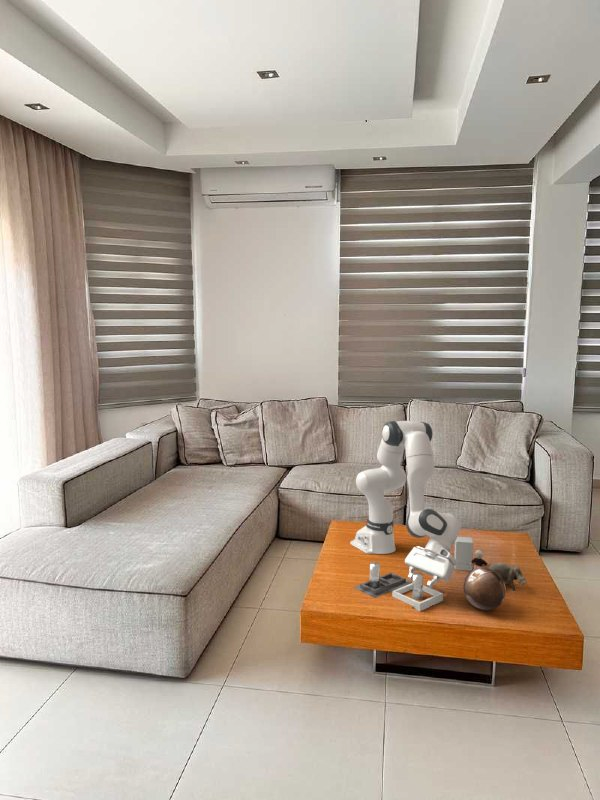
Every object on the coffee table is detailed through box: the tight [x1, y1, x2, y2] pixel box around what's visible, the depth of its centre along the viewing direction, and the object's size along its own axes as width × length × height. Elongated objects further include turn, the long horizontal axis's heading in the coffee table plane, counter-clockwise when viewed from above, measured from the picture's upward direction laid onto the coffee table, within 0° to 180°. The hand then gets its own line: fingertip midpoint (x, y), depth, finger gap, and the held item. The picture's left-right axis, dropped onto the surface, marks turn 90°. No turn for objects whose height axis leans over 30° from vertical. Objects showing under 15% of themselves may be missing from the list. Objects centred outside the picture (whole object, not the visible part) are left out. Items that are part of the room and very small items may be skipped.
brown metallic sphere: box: [463, 567, 507, 611], centre depth 223 cm, size 15×15×15 cm
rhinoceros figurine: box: [488, 562, 528, 592], centre depth 242 cm, size 8×14×15 cm
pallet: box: [353, 572, 413, 599], centre depth 242 cm, size 12×22×2 cm, turn 129°
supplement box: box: [453, 536, 474, 572], centre depth 261 cm, size 7×7×13 cm
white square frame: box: [391, 583, 444, 612], centre depth 230 cm, size 14×14×3 cm
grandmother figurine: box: [470, 549, 490, 570], centre depth 248 cm, size 8×4×13 cm, turn 68°
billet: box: [411, 572, 424, 601], centre depth 230 cm, size 4×4×10 cm
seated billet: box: [369, 561, 381, 589], centre depth 238 cm, size 4×4×10 cm
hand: (419, 582), depth 230 cm, fingers open, 8 cm apart
